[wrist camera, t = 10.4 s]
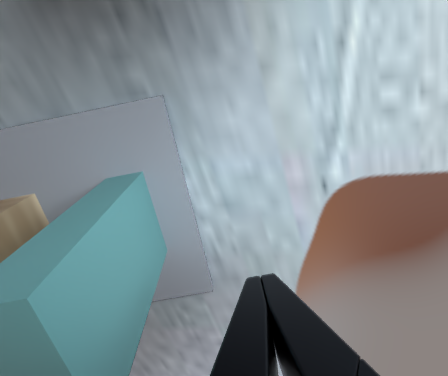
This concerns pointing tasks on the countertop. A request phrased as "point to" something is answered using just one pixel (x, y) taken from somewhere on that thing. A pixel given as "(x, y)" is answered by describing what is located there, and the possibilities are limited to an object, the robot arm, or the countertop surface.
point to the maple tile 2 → (19, 222)
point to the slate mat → (111, 167)
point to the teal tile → (83, 286)
